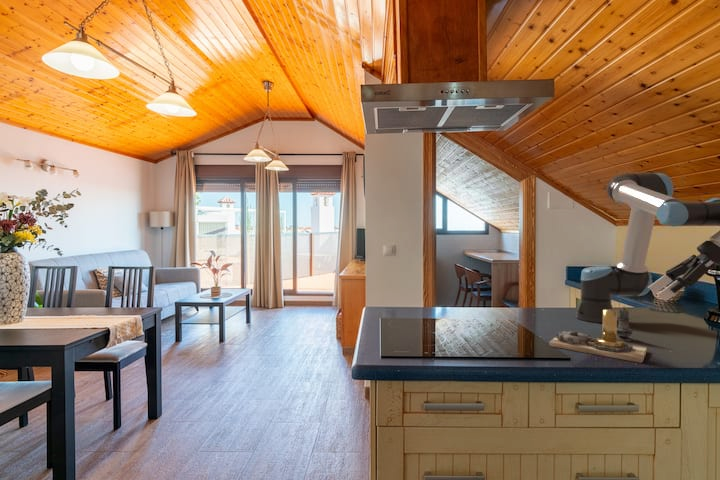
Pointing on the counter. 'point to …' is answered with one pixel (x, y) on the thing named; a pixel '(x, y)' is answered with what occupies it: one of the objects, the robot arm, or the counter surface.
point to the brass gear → (609, 331)
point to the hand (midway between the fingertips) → (655, 294)
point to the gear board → (596, 346)
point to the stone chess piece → (624, 326)
